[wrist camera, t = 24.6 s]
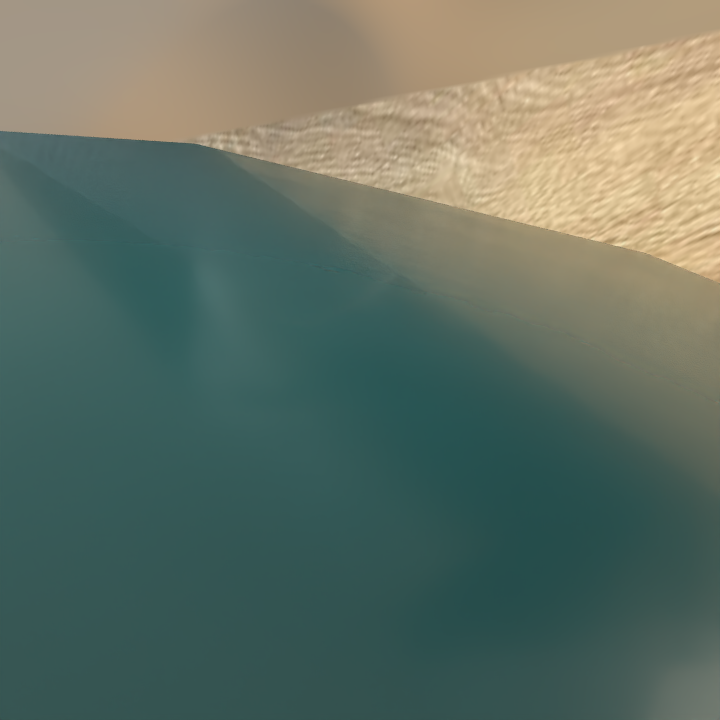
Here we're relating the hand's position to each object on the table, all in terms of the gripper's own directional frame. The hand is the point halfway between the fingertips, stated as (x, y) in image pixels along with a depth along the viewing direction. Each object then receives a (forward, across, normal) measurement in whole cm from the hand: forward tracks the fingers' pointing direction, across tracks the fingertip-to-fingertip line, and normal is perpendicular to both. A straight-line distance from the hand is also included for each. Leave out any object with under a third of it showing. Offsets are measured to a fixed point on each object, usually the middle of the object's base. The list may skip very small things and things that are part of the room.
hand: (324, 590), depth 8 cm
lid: (-3, 0, -6) cm, 7 cm away
